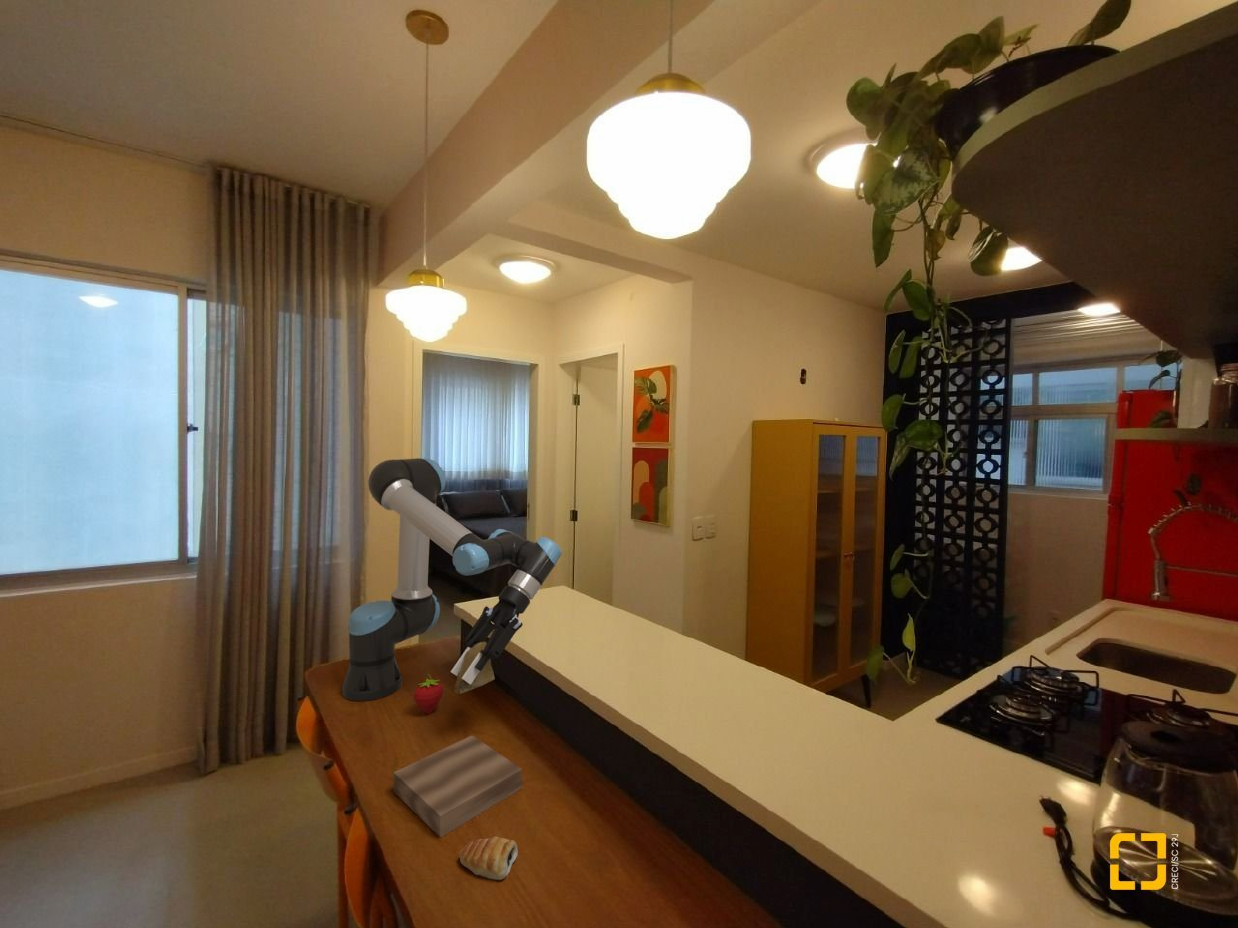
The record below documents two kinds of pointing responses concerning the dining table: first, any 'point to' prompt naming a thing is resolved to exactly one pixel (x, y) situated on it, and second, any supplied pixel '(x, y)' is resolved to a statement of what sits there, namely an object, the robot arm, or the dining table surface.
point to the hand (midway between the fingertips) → (460, 677)
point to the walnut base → (457, 784)
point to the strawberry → (428, 695)
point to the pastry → (489, 857)
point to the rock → (483, 675)
